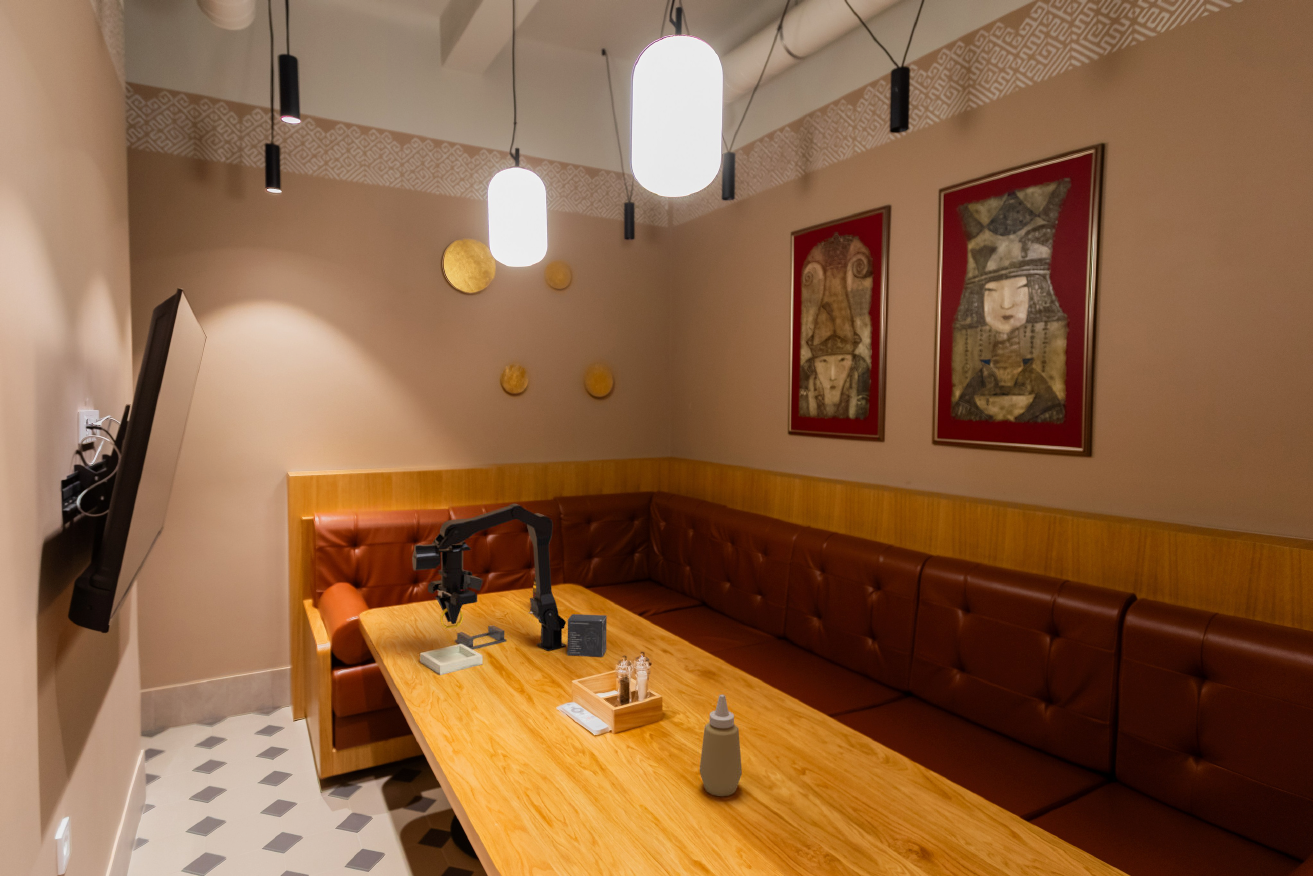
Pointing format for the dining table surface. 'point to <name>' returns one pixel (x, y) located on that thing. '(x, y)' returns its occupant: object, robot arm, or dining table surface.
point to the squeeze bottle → (721, 752)
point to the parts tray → (450, 659)
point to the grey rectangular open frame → (492, 632)
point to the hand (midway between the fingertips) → (451, 622)
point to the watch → (450, 625)
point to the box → (587, 635)
